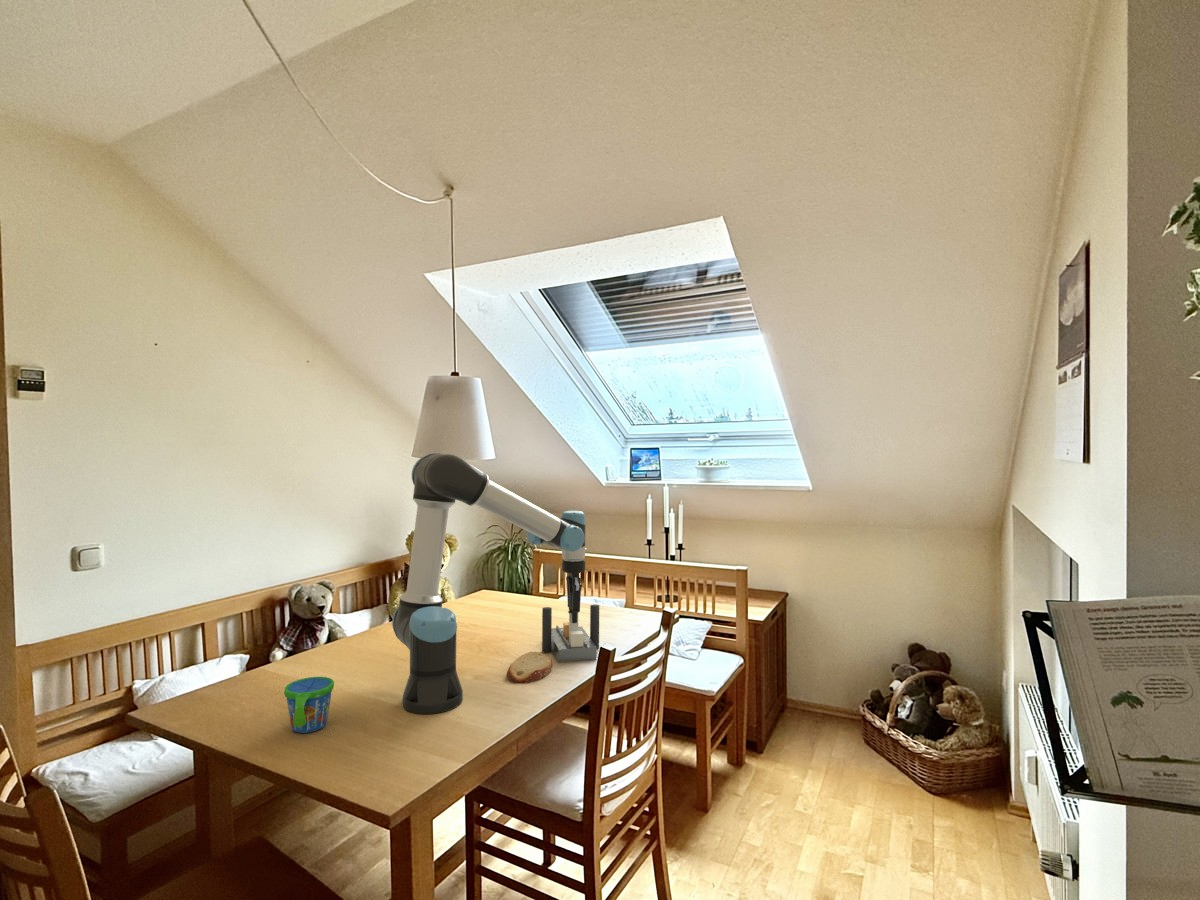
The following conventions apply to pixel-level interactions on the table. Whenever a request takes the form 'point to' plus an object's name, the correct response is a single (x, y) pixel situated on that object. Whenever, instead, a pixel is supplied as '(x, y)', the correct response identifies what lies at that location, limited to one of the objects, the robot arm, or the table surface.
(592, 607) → the post right
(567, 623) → the toggle
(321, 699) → the snack cup
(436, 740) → the table surface
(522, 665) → the bread slice
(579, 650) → the grey tray
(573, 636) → the toggle
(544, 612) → the post left
